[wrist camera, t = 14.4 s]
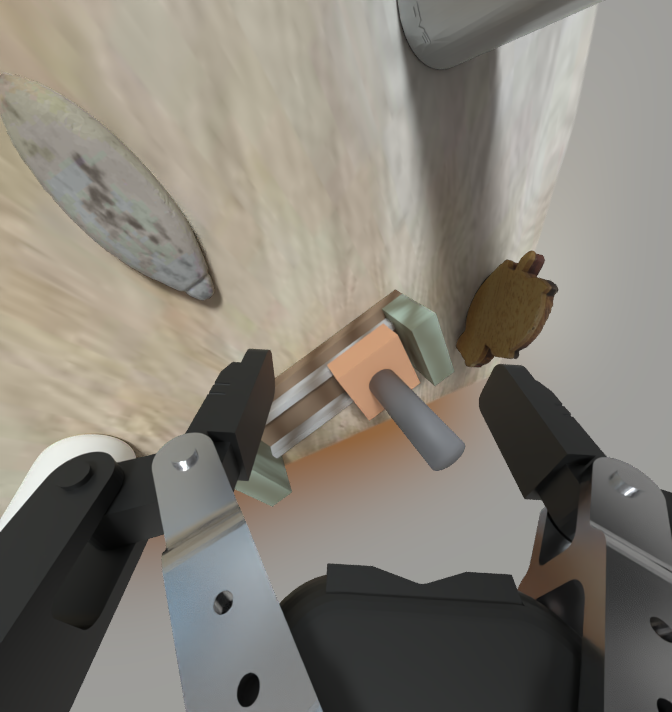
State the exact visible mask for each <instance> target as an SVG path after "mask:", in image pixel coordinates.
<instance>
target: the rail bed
mask: <svg viewBox="0 0 672 712" xmlns="http://www.w3.org/2000/svg"><path fill="white" fill-rule="evenodd" d="M383 323H384V324H385V325H386V326H387V327H388V328H390V329H391V330H392V331H393V332H395V333H396V334H397V335H398V337H399V339H400V341H401V343H402V345H403V347H404V349H405V351H406V354H407V356H408V358H409V360H410V362H411V364H412V366H413V367H414V368H415V369H416V370H418V371H419V372H420V373H421V374H422V375H423V376H424V377H425V378H427V379H428V380H429V381H430V382H431V383H432V384H433V385H434V386H436V385H437V384H439V383H440V382H441V381H443V380H444V379H445V378H447V377H448V376H449V375H451V374H452V373H453V372H454V369H453V366H452V362H451V359H450V356H449V353H448V350H447V347H446V344H445V340H444V337H443V334H442V331H441V328H440V325H439V322H438V318H437V315H436V313H435V312H433V311H431V310H429V309H428V308H426V307H424V306H422V305H421V304H419V303H417V302H416V301H414V300H412V299H410V298H409V297H407V296H405V295H404V294H402V293H400V292H398V291H397V290H394V291H393V292H392V293H390V294H389V295H388V296H386V297H385V298H383V299H382V300H381V301H379V302H378V303H377V304H375V305H374V306H373V307H371V308H370V309H369V310H367V311H366V312H365V313H363V314H362V315H360V316H359V317H358V318H356V319H355V320H354V321H352V322H351V323H350V324H348V325H347V326H346V327H344V328H343V329H342V330H340V331H339V332H337V333H336V334H335V335H333V336H332V337H331V338H329V339H328V340H327V341H325V342H324V343H323V344H321V345H320V346H319V347H317V348H316V349H314V350H313V351H312V352H310V353H309V354H308V355H306V356H305V357H304V358H302V359H301V360H300V361H298V362H297V363H295V364H294V365H293V366H291V367H290V368H289V369H287V370H286V371H285V372H283V373H282V374H281V375H279V376H278V377H277V378H275V394H274V399H273V402H272V405H271V409H270V412H269V415H268V419H267V422H266V425H265V429H264V432H263V435H262V438H261V442H260V445H259V448H258V452H257V455H256V458H255V462H254V465H253V468H252V472H251V475H250V478H249V481H237V484H236V487H235V489H236V490H238V491H240V492H242V493H244V494H247V495H249V496H251V497H253V498H255V499H257V500H259V501H261V502H264V503H266V504H268V505H270V506H272V507H273V506H274V505H275V504H277V503H278V502H279V501H281V500H282V499H283V498H285V497H286V496H287V495H289V494H290V493H291V492H292V490H291V487H290V483H289V480H288V477H287V473H286V469H285V466H284V462H283V459H282V454H284V453H285V452H287V451H288V450H289V449H291V448H292V447H293V446H295V445H296V444H297V443H299V442H300V441H301V440H303V439H304V438H305V437H307V436H308V435H309V434H311V433H312V432H314V431H315V430H316V429H318V428H319V427H320V426H322V425H323V424H324V423H326V422H327V421H328V420H330V419H331V418H332V417H334V416H335V415H336V414H338V413H339V412H341V411H342V410H343V409H345V408H346V407H347V406H349V405H350V404H351V403H353V402H354V401H353V399H352V398H351V397H350V396H349V394H348V393H347V392H346V391H345V389H344V388H343V387H342V386H341V384H340V383H339V382H338V381H337V379H336V378H335V376H334V375H333V373H332V372H331V370H330V369H329V367H328V366H327V365H328V364H329V363H330V362H332V361H333V360H334V359H336V358H337V357H338V356H340V355H341V354H342V353H344V352H345V351H346V350H348V349H349V348H351V347H352V346H353V345H355V344H356V343H357V342H359V341H360V340H361V339H363V338H364V337H365V336H367V335H368V334H369V333H371V332H372V331H374V330H375V329H376V328H378V327H379V326H380V325H382V324H383Z"/></svg>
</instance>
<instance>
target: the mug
mask: <svg viewBox="0 0 672 712" xmlns="http://www.w3.org/2000/svg"><path fill="white" fill-rule="evenodd" d="M89 452H105V453H108V454H110V455H111V456H112V457H113V458H114V460H115V461H116V462H121V461H126V460H131V459H135V458H136V455H135V453H134V451H133V449H132V448H131V447H130V446H129V445H128V444H127V443H125V442H124V441H122V440H120V439H118V438H115V437H112V436H108V435H101V434H84V435H77V436H72V437H68V438H65V439H62V440H60V441H57V442H56V443H54V444H52V445H50V446H49V447H48V448H46V449H45V450H44V451H43V452H42V453H41V454H40V455H39V457H38V458H37V459H36V461H35V462H34V464H33V465H32V467H31V469H30V470H29V472H28V474H27V475H26V477H25V479H24V480H23V482H22V484H21V486H20V487H19V489H18V491H17V492H16V494H15V496H14V497H13V499H12V501H11V503H10V504H9V506H8V508H7V509H6V511H5V513H4V514H3V516H2V518H1V519H0V531H1V530H2V529H3V528H4V527H5V525H6V524H7V523H8V522H9V521H10V520H11V518H12V517H13V516H14V515H15V514H16V513H17V511H18V510H19V509H20V508H21V507H22V506H23V504H24V503H25V502H26V501H27V500H28V499H29V497H30V496H31V495H32V494H33V493H34V491H35V490H36V489H37V488H38V487H39V486H40V484H41V483H42V482H43V481H44V480H45V479H46V478H47V476H48V475H49V474H50V473H51V472H53V471H54V470H55V469H56V468H57V467H59V466H60V465H62V464H63V463H65V462H66V461H68V460H70V459H72V458H74V457H77V456H79V455H82V454H85V453H89Z"/></svg>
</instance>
